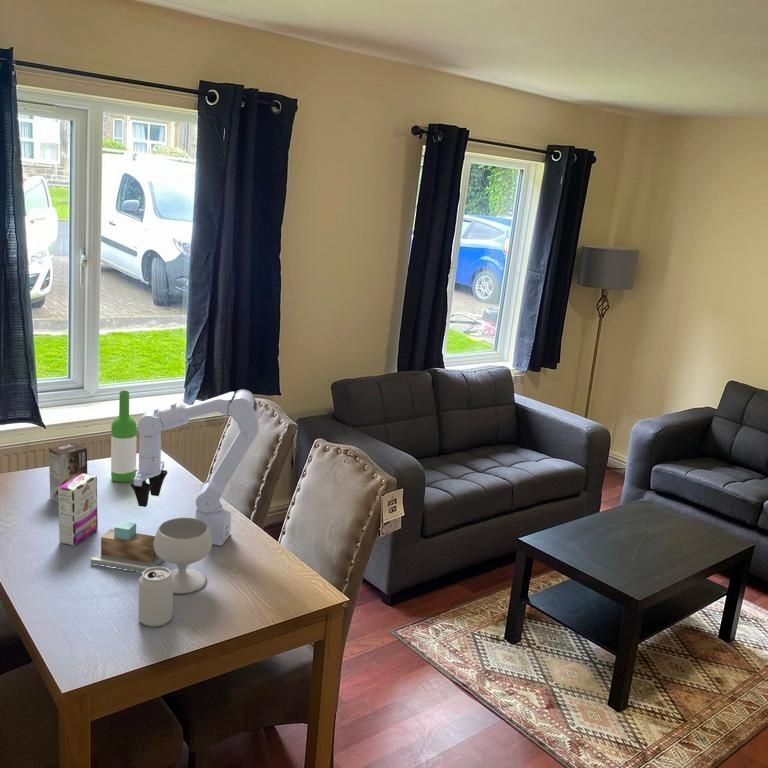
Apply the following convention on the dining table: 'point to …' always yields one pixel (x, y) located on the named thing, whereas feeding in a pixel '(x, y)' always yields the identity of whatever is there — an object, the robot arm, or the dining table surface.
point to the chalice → (184, 551)
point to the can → (155, 596)
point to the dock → (124, 562)
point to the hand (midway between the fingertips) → (148, 500)
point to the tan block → (129, 547)
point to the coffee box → (66, 465)
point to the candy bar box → (77, 509)
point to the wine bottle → (123, 443)
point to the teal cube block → (125, 530)
